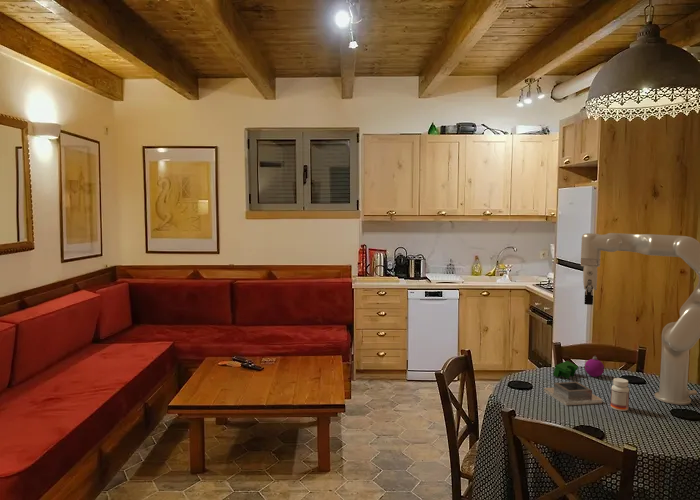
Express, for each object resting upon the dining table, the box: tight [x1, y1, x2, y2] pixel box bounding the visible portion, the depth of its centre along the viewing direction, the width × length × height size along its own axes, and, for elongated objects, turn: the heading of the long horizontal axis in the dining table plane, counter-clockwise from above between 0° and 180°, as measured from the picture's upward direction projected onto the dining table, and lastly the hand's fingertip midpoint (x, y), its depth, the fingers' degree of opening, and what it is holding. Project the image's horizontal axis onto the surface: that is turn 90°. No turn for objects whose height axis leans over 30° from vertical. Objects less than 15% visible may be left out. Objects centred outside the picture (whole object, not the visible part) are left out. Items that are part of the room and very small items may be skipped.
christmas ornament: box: [584, 356, 605, 378], centre depth 243 cm, size 8×8×10 cm
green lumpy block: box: [552, 360, 579, 380], centre depth 243 cm, size 12×6×9 cm, turn 126°
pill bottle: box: [610, 377, 630, 412], centre depth 204 cm, size 6×6×11 cm
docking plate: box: [543, 381, 603, 407], centre depth 216 cm, size 16×16×4 cm
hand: (588, 302), depth 225 cm, fingers open, 9 cm apart
